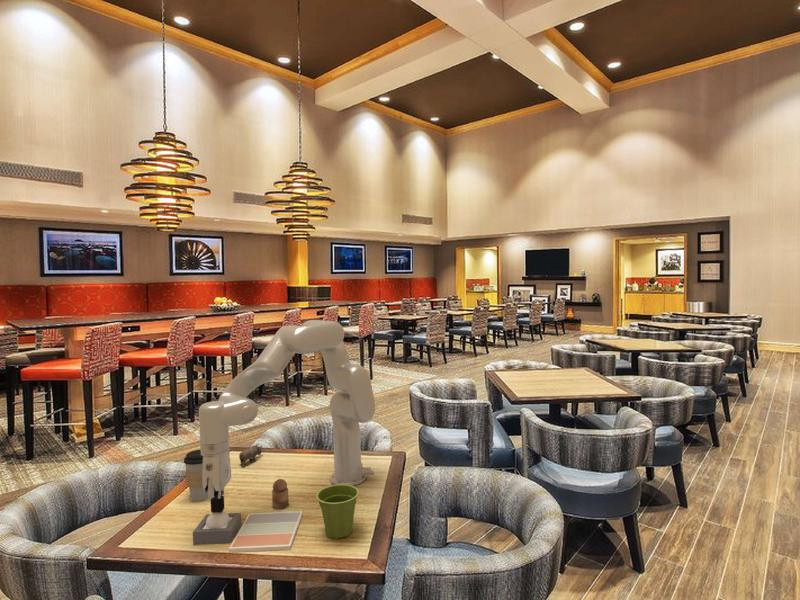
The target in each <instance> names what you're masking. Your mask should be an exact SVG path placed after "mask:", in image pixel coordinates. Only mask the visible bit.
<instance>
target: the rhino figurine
mask: <svg viewBox="0 0 800 600" xmlns="http://www.w3.org/2000/svg"><path fill="white" fill-rule="evenodd" d="M262 451H263V445H260V446H259V445H258V444H255V445H252V446H250V447H249V448H246V449H244V450H242V451H240V453H239V455H238V456H239V460H240V466H241V468H246V467H247V465H246V464H245V463H246V462H247V461H249V462H253V463H256V462H257V460H256V458H257V456H261V454H262Z"/></svg>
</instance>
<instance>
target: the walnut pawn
mask: <svg viewBox="0 0 800 600" xmlns="http://www.w3.org/2000/svg"><path fill="white" fill-rule="evenodd" d="M271 495H272V496H271V498H272V499H271V501H272V503H271V505H272V509H274V510H284V509H286V508H288V507H289V505H290V501H289V499H290V498H289V487H288V483H287V481H286V480H285V479H283V478H279V479H276V480H275V481H274V482H273V484H272V490H271Z"/></svg>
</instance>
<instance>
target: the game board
mask: <svg viewBox="0 0 800 600" xmlns="http://www.w3.org/2000/svg"><path fill="white" fill-rule="evenodd" d="M303 516H304V515H303V510H302V511H301V510H300V511H299V510H298V511H278V512H277V511H276V512H275V511H274V512H257V513H256V512H255V513H248V515H247V517H246V518H245V521H244V522H243V523H242V525H241V526H240V528H239V530H238V531H237V533H236V535H235V537H234V538H233V540H232V542H231V543H230V546H229V547H228V553H247V552H248V553H249V552H265V551H266V552H268V551H271V552H272V551H288V550H289V551H290V550H291V549H292V546H293V543H294V540H295V537H296V536H297V533H298V532H297V531H298V529H299V525H300V523H301V520H302V517H303Z"/></svg>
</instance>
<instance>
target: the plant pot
mask: <svg viewBox="0 0 800 600" xmlns="http://www.w3.org/2000/svg"><path fill="white" fill-rule="evenodd" d="M359 494H360V491H359V488H357V487H356V486H355V485H354V486H351V485H346V484H338V485H334V484H332V485H327V486H326V487H325V486H324V488H321V489H319V490H318V492H317V493H316V494H315V497H316V500H317V501H318V503H319V507H320V509H321V514H322V519H323V525H324V529H325V533H326V535H327V537H329V538H330V539H337V540H338V539H339V540H340V538H346V537H348V536H350V535H351V534H352V532H353V525H354V517H355V509H356V503H357V497H359Z"/></svg>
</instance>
